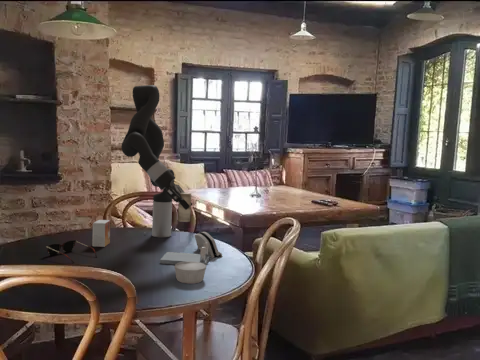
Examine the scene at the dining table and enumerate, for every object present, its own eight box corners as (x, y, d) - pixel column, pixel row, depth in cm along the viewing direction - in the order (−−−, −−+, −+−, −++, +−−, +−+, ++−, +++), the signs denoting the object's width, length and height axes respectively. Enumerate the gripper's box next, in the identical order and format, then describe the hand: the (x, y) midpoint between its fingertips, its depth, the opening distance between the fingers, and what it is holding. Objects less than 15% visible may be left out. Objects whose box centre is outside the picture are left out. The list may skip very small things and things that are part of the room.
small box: (104, 247, 202) (105, 223, 201) (91, 246, 202) (92, 222, 201) (110, 243, 210) (110, 220, 209) (97, 242, 210) (98, 219, 209)
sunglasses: (74, 250, 195) (75, 239, 195) (100, 260, 187) (101, 248, 186) (45, 257, 184) (45, 244, 183) (71, 267, 175) (71, 254, 175)
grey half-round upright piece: (222, 257, 196) (216, 235, 193) (212, 261, 194) (206, 240, 192) (208, 247, 211) (202, 227, 208) (198, 251, 209) (192, 231, 206)
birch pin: (179, 219, 188) (180, 192, 187) (191, 220, 188) (192, 193, 187) (176, 221, 183) (177, 193, 182) (188, 222, 183) (190, 194, 182)
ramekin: (190, 273, 172) (190, 259, 171) (212, 280, 165) (212, 265, 164) (167, 279, 163) (167, 264, 163) (189, 287, 156) (190, 272, 156)
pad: (167, 255, 194) (167, 239, 193) (209, 258, 193) (210, 241, 192) (160, 263, 182) (160, 245, 181) (205, 266, 181) (206, 249, 180)
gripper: (163, 170, 177) (193, 203, 177) (171, 167, 191) (199, 198, 191) (149, 183, 178) (178, 216, 178) (158, 179, 192) (186, 210, 192)
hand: (189, 207), depth 185 cm, fingers closed on birch pin, 4 cm apart
